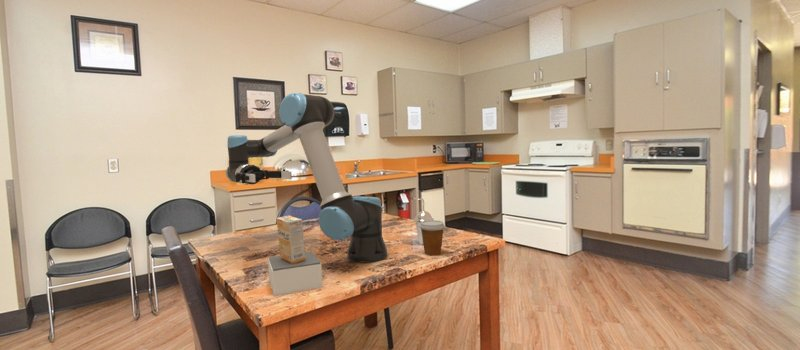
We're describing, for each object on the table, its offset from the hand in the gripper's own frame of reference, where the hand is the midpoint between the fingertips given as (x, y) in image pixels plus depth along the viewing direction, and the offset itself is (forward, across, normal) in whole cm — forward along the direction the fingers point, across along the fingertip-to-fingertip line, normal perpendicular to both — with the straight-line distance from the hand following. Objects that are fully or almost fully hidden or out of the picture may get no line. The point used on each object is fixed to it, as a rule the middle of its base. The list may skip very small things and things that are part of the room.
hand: (273, 176), depth 137 cm
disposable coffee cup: (+32, -48, -32) cm, 66 cm away
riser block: (+22, +5, -32) cm, 40 cm away
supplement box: (+22, +5, -24) cm, 33 cm away
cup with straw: (+19, -57, -32) cm, 68 cm away
